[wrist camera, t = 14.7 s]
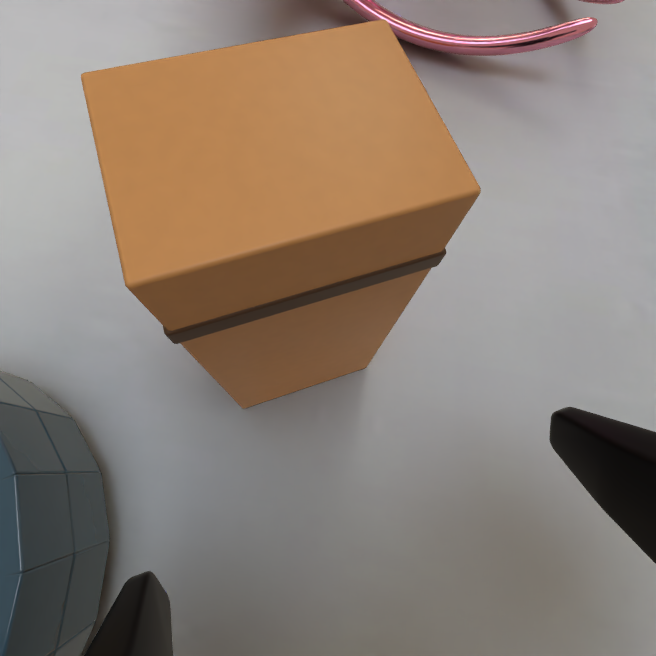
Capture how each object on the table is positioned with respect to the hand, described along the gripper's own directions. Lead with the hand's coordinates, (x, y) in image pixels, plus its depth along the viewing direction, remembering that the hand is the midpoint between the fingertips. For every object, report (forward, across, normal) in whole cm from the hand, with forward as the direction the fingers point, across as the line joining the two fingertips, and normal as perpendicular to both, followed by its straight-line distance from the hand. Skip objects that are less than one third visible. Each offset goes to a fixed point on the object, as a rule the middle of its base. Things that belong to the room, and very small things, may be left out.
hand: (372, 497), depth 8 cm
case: (+9, 0, +1) cm, 9 cm away
